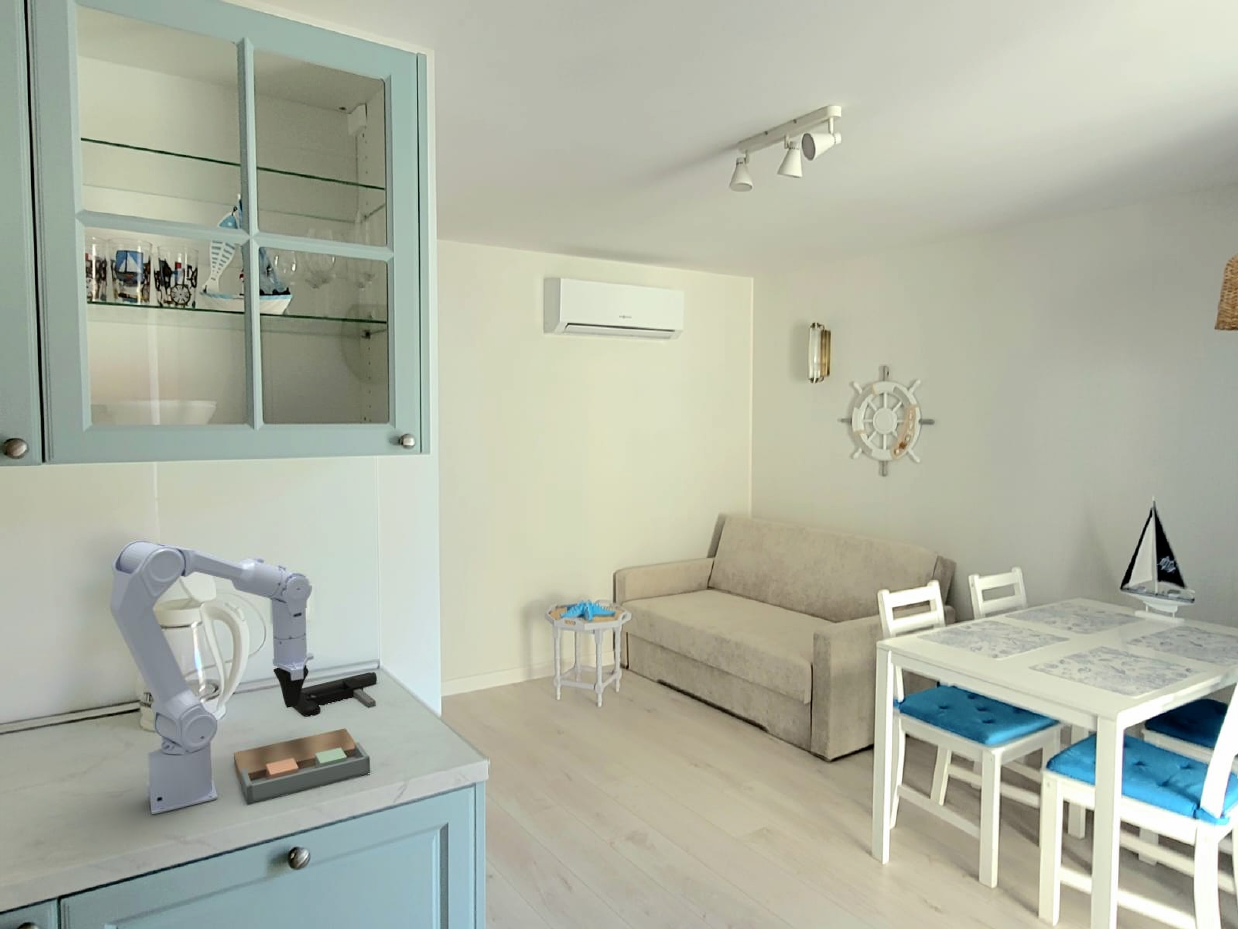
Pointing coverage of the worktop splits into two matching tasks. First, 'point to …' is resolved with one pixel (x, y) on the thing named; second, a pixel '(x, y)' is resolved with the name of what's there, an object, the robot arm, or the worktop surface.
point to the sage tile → (329, 757)
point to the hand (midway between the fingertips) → (291, 705)
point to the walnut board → (292, 752)
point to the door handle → (336, 693)
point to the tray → (305, 778)
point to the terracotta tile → (281, 769)
